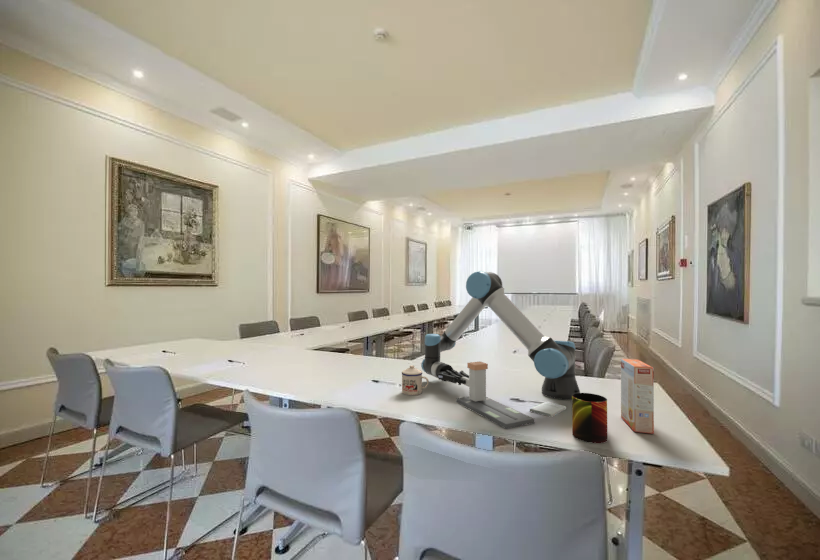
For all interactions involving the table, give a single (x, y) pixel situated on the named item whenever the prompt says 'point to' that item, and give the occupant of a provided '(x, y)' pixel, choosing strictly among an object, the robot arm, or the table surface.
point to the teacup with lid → (412, 381)
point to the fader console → (496, 412)
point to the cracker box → (637, 395)
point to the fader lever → (477, 380)
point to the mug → (589, 417)
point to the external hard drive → (548, 409)
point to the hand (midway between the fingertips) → (472, 383)
